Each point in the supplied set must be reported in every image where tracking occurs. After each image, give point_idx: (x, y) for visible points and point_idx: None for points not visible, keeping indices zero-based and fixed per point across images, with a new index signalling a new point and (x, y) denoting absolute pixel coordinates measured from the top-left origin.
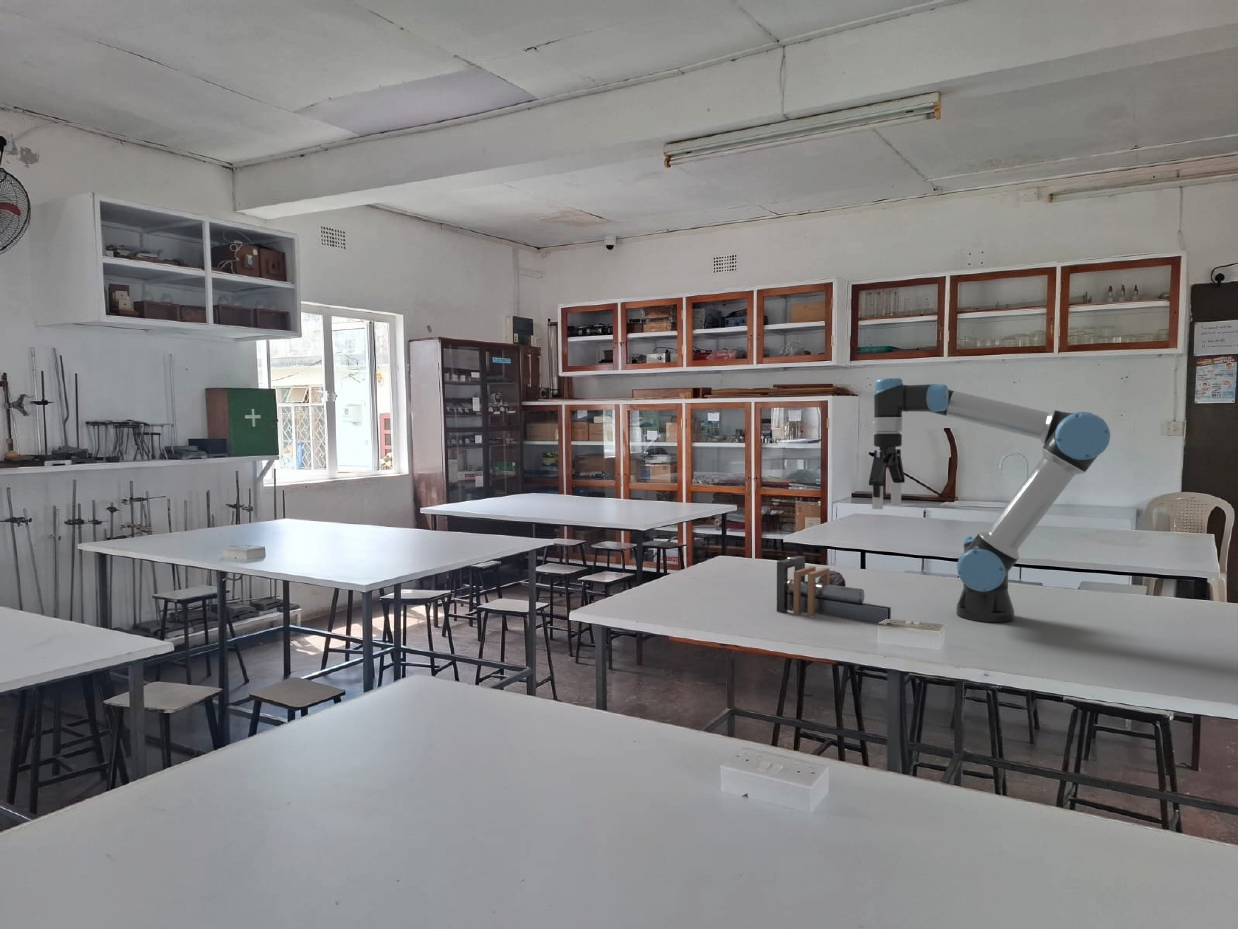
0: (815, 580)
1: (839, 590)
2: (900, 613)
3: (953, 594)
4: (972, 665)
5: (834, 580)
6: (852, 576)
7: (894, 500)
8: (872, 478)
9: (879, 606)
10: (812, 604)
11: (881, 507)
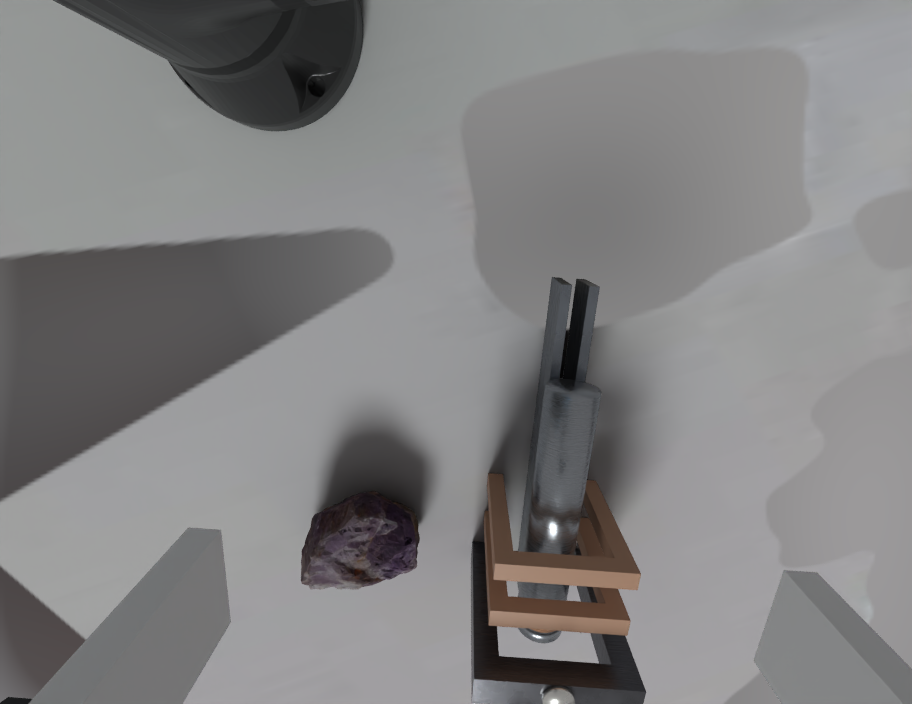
0: (488, 570)
1: (588, 462)
2: (406, 291)
3: (6, 222)
4: None
5: (368, 538)
6: (10, 564)
7: (195, 638)
8: None
9: (566, 320)
10: (605, 502)
11: (834, 595)
